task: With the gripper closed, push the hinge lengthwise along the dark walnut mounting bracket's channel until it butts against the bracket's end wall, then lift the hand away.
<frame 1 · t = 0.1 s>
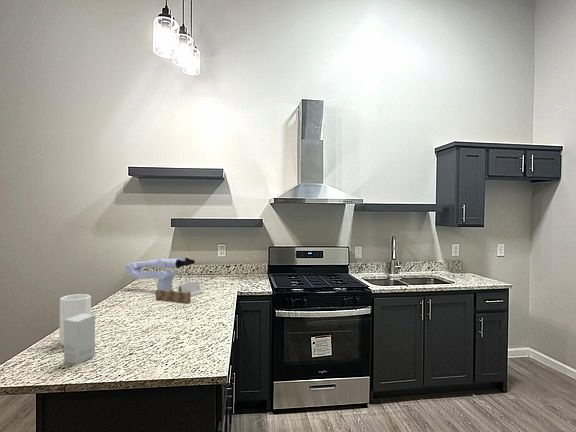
hand: (191, 262, 235), 22 cm above the countertop, tool horizontal, fingers open, 7 cm apart
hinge: (190, 295, 237), on the countertop
cup: (75, 341, 150), on the countertop
skincare box: (79, 359, 131), on the countertop
walnut bracket: (177, 299, 224), on the countertop
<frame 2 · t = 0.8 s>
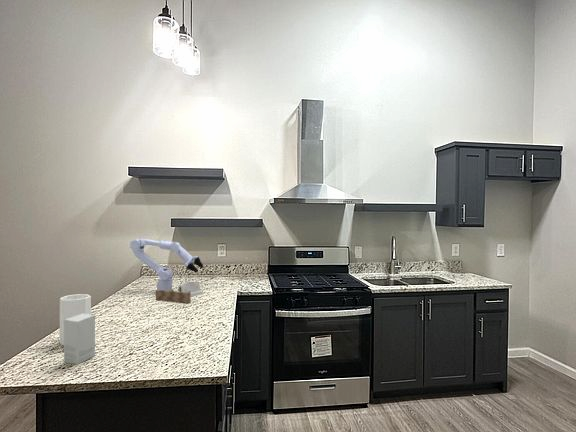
hand: (200, 269, 242), 16 cm above the countertop, tool tilted 50°, fingers open, 7 cm apart
nothing on the countertop moved.
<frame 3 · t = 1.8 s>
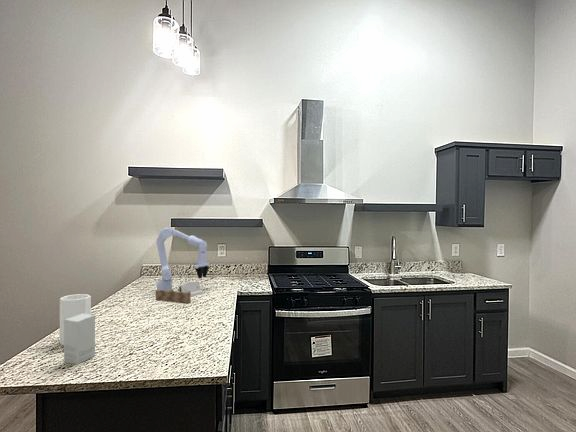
hand: (202, 277, 250), 9 cm above the countertop, tool pointing down, fingers open, 5 cm apart
nothing on the countertop moved.
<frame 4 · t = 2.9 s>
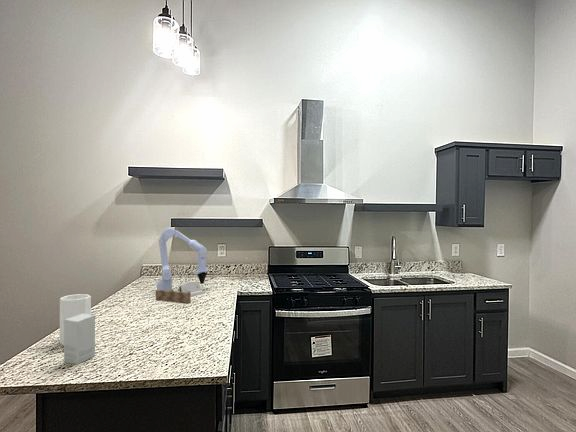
hand: (202, 283, 250), 5 cm above the countertop, tool pointing down, fingers closed
nothing on the countertop moved.
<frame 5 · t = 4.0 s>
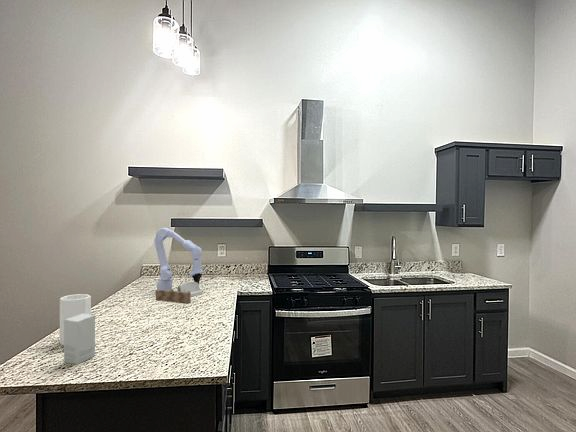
hand: (196, 285, 244), 5 cm above the countertop, tool pointing down, fingers closed
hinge: (189, 296, 236), on the countertop, touching gripper
everything else where it was.
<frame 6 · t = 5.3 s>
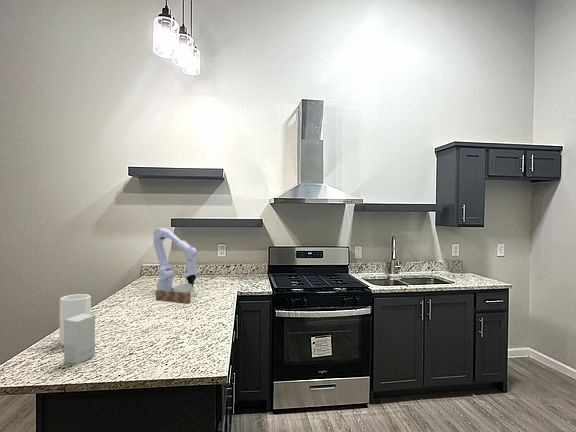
hand: (191, 286, 238), 5 cm above the countertop, tool pointing down, fingers closed
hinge: (183, 298, 229), on the countertop, touching gripper
everything else where it was.
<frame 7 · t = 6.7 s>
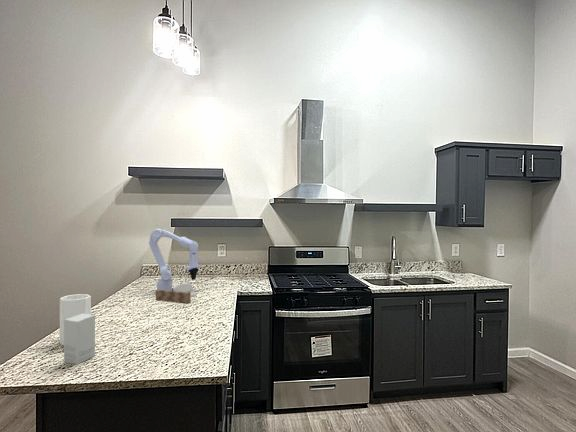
hand: (193, 279, 246), 9 cm above the countertop, tool pointing down, fingers closed
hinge: (183, 298, 229), on the countertop
everything else where it was.
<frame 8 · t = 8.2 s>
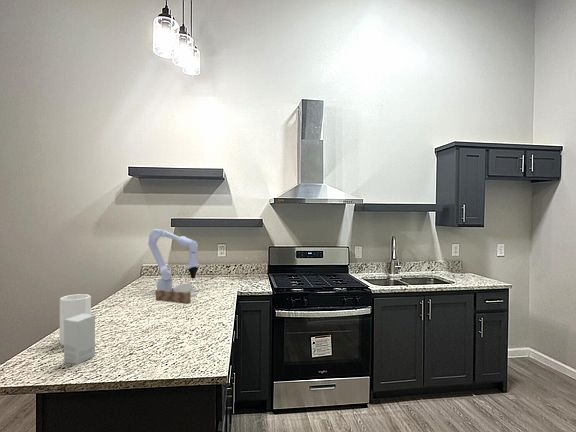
hand: (193, 278, 246), 9 cm above the countertop, tool pointing down, fingers closed
nothing on the countertop moved.
at the end: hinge 0.8 cm from the target spot, on the countertop; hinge tilted 0° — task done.
